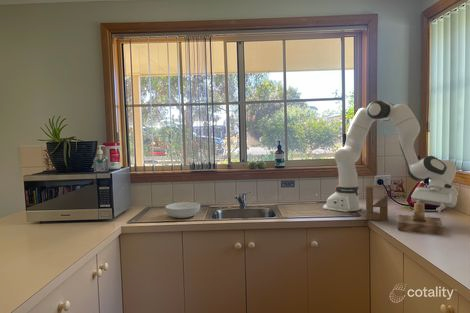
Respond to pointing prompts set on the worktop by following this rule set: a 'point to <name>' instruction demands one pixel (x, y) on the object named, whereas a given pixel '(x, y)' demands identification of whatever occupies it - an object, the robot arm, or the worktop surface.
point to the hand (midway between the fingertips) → (427, 210)
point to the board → (420, 225)
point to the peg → (419, 212)
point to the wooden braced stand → (381, 203)
